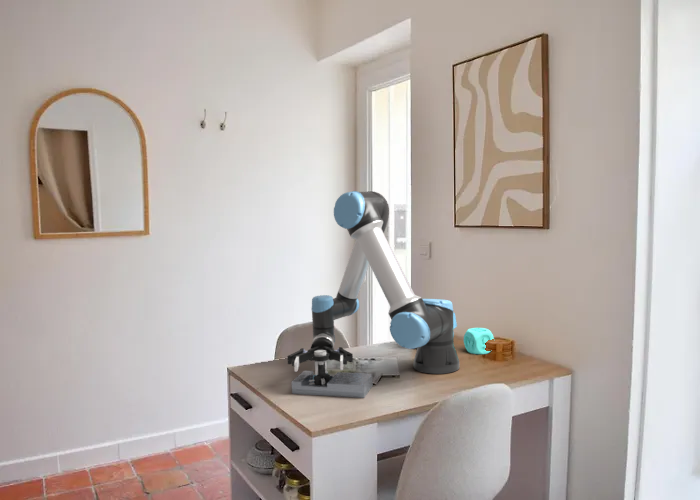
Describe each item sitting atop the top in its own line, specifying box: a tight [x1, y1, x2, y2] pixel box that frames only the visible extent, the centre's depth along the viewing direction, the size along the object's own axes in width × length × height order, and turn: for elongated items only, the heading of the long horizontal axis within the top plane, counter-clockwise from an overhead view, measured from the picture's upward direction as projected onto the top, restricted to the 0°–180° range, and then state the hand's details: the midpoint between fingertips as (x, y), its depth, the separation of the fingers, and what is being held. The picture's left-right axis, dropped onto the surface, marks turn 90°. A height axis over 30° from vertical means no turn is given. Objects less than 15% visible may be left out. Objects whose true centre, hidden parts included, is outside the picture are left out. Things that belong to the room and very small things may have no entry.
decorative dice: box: [463, 327, 495, 355], centre depth 204 cm, size 8×8×8 cm
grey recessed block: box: [291, 370, 374, 399], centre depth 168 cm, size 22×11×4 cm, turn 75°
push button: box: [310, 350, 331, 386], centre depth 168 cm, size 7×5×10 cm
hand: (318, 366), depth 165 cm, fingers open, 13 cm apart
